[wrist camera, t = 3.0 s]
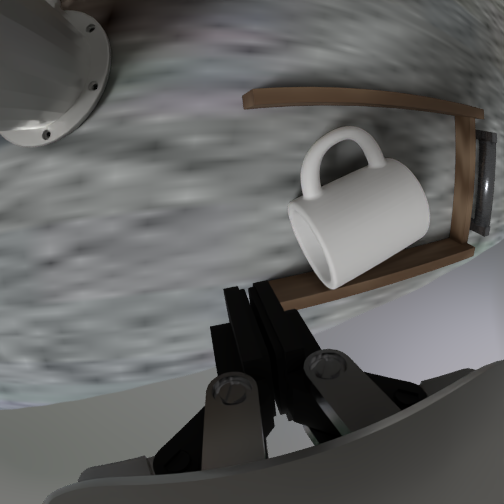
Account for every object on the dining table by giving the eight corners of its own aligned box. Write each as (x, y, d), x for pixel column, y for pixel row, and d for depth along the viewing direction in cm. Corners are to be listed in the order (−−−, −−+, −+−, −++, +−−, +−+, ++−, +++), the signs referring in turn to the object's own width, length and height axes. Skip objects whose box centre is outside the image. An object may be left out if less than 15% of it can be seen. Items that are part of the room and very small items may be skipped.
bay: (242, 95, 22) (254, 88, 18) (472, 110, 26) (498, 113, 22) (264, 292, 29) (276, 317, 25) (466, 240, 34) (487, 252, 30)
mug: (385, 222, 29) (435, 250, 22) (306, 265, 29) (343, 308, 22) (354, 113, 24) (410, 113, 17) (259, 151, 24) (292, 160, 17)
